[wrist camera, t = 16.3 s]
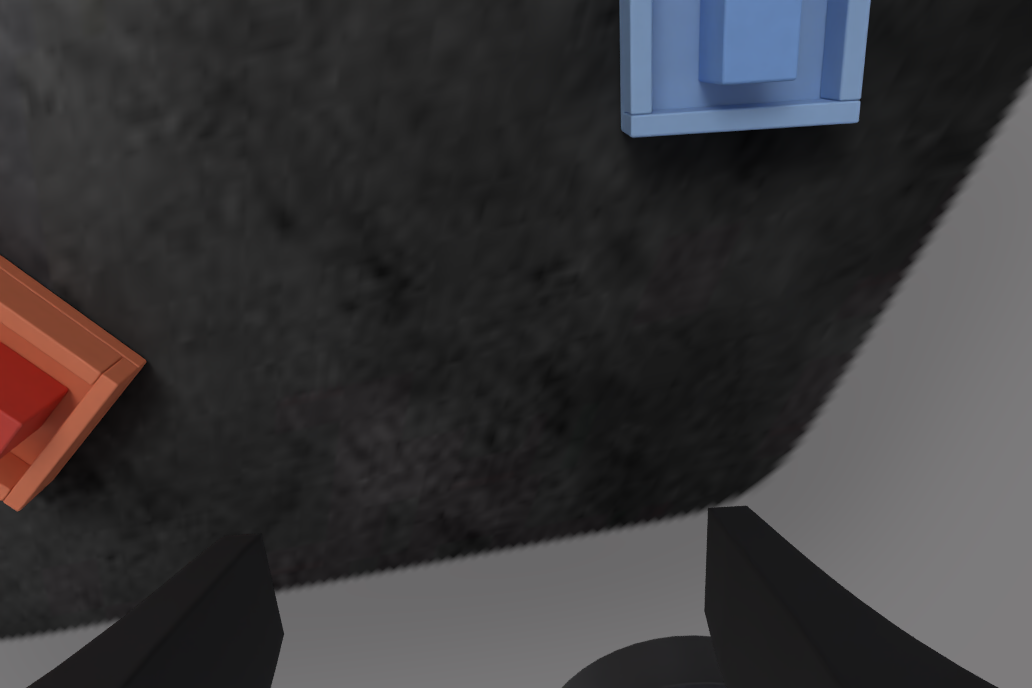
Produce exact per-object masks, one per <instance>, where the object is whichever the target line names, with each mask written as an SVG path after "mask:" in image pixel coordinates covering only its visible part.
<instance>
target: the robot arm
mask: <svg viewBox="0 0 1032 688" xmlns="http://www.w3.org/2000/svg"><path fill="white" fill-rule="evenodd" d="M705 615H706V618H707V623H708V627H709V631H710V635H711V639H712V643H713V647H714V651H715V654H716V658H717V662H718V666H719V669H720V672H721V675H722V678H723V680H724V683H725V686H726V688H998V687H996V686H994V685H992V684H990V683H989V682H987V681H985V680H983V679H981V678H979V677H978V676H976V675H974V674H973V673H971V672H969V671H967V670H966V669H964V668H962V667H960V666H959V665H957V664H955V663H954V662H952V661H951V660H949V659H947V658H946V657H944V656H943V655H941V654H939V653H938V652H936V651H935V650H933V649H931V648H930V647H928V646H926V645H925V644H923V643H922V642H920V641H918V640H916V639H915V638H914V637H912V636H911V635H909V634H908V633H906V632H905V631H903V630H901V629H900V628H899V627H897V626H896V625H894V624H893V623H891V622H890V621H888V620H887V619H886V618H885V617H883V616H882V615H880V614H879V613H878V612H876V611H875V610H873V609H872V608H871V607H869V606H868V605H866V604H865V603H863V602H862V601H861V600H860V599H858V598H857V597H855V596H854V595H853V594H852V593H850V592H849V591H848V590H846V589H845V588H844V587H843V586H841V585H840V584H839V583H837V582H836V581H835V580H834V579H832V578H831V577H830V576H829V575H827V574H826V573H825V572H824V571H822V570H821V569H820V568H819V567H817V566H816V565H815V564H814V563H813V562H811V561H810V560H809V559H808V558H806V557H805V556H804V555H803V554H802V553H801V552H800V551H798V550H797V549H796V548H795V547H794V546H793V545H791V544H790V543H789V542H788V541H787V540H785V539H784V538H783V537H782V536H781V535H780V534H779V533H777V532H776V531H775V530H774V529H773V528H772V527H771V526H769V525H768V524H767V523H766V522H765V521H764V520H762V519H761V518H760V517H759V516H758V515H757V514H756V513H755V512H753V511H752V510H751V509H750V508H749V507H747V506H735V507H717V508H708V527H707V556H706V585H705ZM283 636H284V632H283V628H282V623H281V619H280V614H279V610H278V606H277V601H276V596H275V592H274V587H273V583H272V578H271V574H270V569H269V565H268V560H267V556H266V551H265V547H264V542H263V538H262V533H261V534H244V535H226V536H223V537H222V538H220V539H219V540H218V541H216V542H215V543H214V544H212V545H211V546H210V547H208V548H207V549H206V550H205V551H203V552H202V553H201V554H200V555H198V556H197V557H196V558H195V559H193V560H192V561H191V562H190V563H189V564H187V565H186V566H185V567H184V568H182V569H181V570H180V571H179V572H178V573H176V574H175V575H174V576H173V577H172V578H170V579H169V580H168V581H167V582H166V583H164V584H163V585H162V586H161V587H159V588H158V589H157V590H156V591H154V592H153V593H152V594H151V595H150V596H148V597H147V598H146V599H145V600H143V601H142V602H141V603H140V604H138V605H137V606H136V607H135V608H134V609H132V610H131V611H130V612H129V613H127V614H126V615H125V616H124V617H122V618H121V619H120V620H119V621H117V622H116V623H115V624H113V625H112V626H111V627H109V628H108V629H107V630H105V631H104V632H103V633H102V634H100V635H99V636H97V637H96V638H95V639H93V640H92V641H91V642H89V643H88V644H87V645H85V646H84V647H83V648H82V649H80V650H79V651H77V652H76V653H75V654H73V655H72V656H71V657H69V658H68V659H67V660H66V661H64V662H63V663H61V664H60V665H59V666H57V667H56V668H55V669H53V670H51V671H50V672H49V673H47V674H46V675H44V676H43V677H41V678H40V679H39V680H37V681H35V682H34V683H33V684H31V685H30V686H28V687H27V688H271V684H272V680H273V676H274V672H275V669H276V665H277V661H278V657H279V652H280V648H281V644H282V640H283Z"/></svg>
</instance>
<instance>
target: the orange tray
mask: <svg viewBox="0 0 1032 688" xmlns="http://www.w3.org/2000/svg"><path fill="white" fill-rule="evenodd" d="M0 342H2V343H3V344H5V345H6V346H8V347H9V348H11V349H12V350H13V351H15V352H16V353H18V354H19V355H21V356H22V357H24V358H25V359H27V360H28V361H29V362H31V363H32V364H34V365H35V366H37V367H38V368H40V369H41V370H42V371H44V372H45V373H47V374H48V375H50V376H51V377H53V378H54V379H56V380H57V381H58V382H60V383H61V384H63V385H64V386H66V387H67V388H68V392H67V394H66V395H65V396H64V398H63V399H62V400H61V401H60V403H59V404H58V405H57V407H56V408H55V409H54V411H53V412H52V413H51V415H50V416H49V417H48V418H47V420H46V421H45V422H44V424H43V425H42V426H41V427H40V428H39V429H38V430H36V431H35V432H34V433H32V434H31V435H30V436H29V437H27V438H26V439H25V440H24V441H22V442H21V443H20V444H19V445H17V446H16V447H15V448H13V449H12V450H11V451H10V452H8V453H7V454H6V455H5V456H3V457H2V458H1V459H0V500H1V501H3V500H4V503H5V504H7V505H8V506H10V507H12V508H13V509H15V510H16V511H20V510H21V509H22V508H23V507H25V506H26V505H27V504H28V503H29V502H30V501H31V500H32V499H33V498H34V497H35V496H36V495H37V494H39V493H40V492H41V491H42V490H43V489H44V488H45V487H46V486H47V485H48V484H49V483H50V482H51V481H53V480H54V478H55V477H56V476H57V474H58V473H59V472H60V471H61V469H62V468H63V467H64V466H65V464H66V463H67V462H68V461H69V459H70V458H71V457H72V456H73V454H74V453H75V452H76V451H77V449H78V448H79V447H80V446H81V444H82V443H83V442H84V440H85V439H86V438H87V437H88V435H89V434H90V433H91V432H92V430H93V429H94V428H95V427H96V425H97V424H98V423H99V422H100V420H101V419H102V418H103V417H104V415H105V414H106V413H107V412H108V410H109V409H110V408H111V406H112V405H113V404H114V403H115V401H116V400H117V399H118V398H119V396H120V395H121V394H122V393H123V391H124V390H125V389H126V388H127V386H128V385H129V384H130V383H131V381H132V380H133V379H134V378H135V376H136V375H137V374H138V372H139V371H140V370H141V369H142V367H143V366H144V365H145V364H146V360H145V359H144V358H142V357H141V356H140V355H138V354H137V353H136V352H134V351H133V350H131V349H130V348H129V347H127V346H126V345H124V344H123V343H122V342H120V341H119V340H117V339H116V338H115V337H113V336H112V335H111V334H109V333H108V332H106V331H105V330H104V329H102V328H101V327H99V326H98V325H97V324H95V323H94V322H93V321H91V320H90V319H88V318H87V317H86V316H84V315H83V314H81V313H80V312H79V311H77V310H76V309H74V308H73V307H72V306H70V305H69V304H68V303H66V302H65V301H63V300H62V299H61V298H59V297H58V296H56V295H55V294H54V293H52V292H51V291H50V290H48V289H47V288H45V287H44V286H43V285H41V284H40V283H38V282H37V281H36V280H34V279H33V278H31V277H30V276H29V275H27V274H26V273H25V272H23V271H22V270H20V269H19V268H18V267H16V266H15V265H13V264H12V263H11V262H9V261H8V260H7V259H5V258H4V257H2V256H1V255H0Z"/></svg>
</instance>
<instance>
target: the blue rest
mask: <svg viewBox="0 0 1032 688" xmlns="http://www.w3.org/2000/svg"><path fill="white" fill-rule="evenodd" d="M870 1H871V0H802V13H801V27H800V41H799V56H798V70H797V78H796V79H795V80H793V81H781V82H766V83H751V84H736V85H720V84H713V83H706V82H701V81H699V79H698V78H699V36H700V0H619V5H620V88H621V130H622V131H623V132H625V133H626V134H628V135H629V136H630V137H632V138H637V137H652V136H667V135H682V134H697V133H713V132H728V131H743V130H758V129H773V128H788V127H804V126H819V125H834V124H849V123H857V122H858V121H859V112H860V101H859V99H860V98H861V92H862V82H863V72H864V62H865V51H866V41H867V31H868V21H869V11H870Z"/></svg>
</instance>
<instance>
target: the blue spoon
mask: <svg viewBox="0 0 1032 688" xmlns="http://www.w3.org/2000/svg"><path fill="white" fill-rule="evenodd" d="M801 13H802V0H700V36H699V78H698V79H699V81H701V82H706V83H713V84H720V85H736V84H751V83H766V82H781V81H793V80H795V79H796V78H797V70H798V56H799V41H800V27H801Z"/></svg>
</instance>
